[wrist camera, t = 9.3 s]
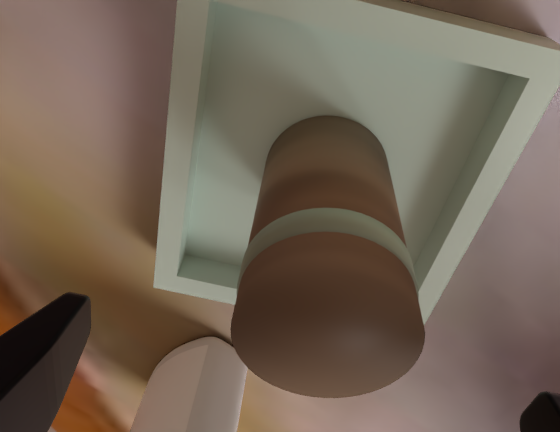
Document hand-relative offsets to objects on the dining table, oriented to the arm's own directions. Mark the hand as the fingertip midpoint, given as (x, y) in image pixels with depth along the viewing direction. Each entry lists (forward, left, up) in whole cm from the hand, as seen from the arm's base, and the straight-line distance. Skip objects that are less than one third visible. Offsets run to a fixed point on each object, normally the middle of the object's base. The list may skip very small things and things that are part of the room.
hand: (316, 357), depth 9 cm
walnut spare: (0, 0, -8) cm, 8 cm away
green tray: (0, 0, -8) cm, 8 cm away
